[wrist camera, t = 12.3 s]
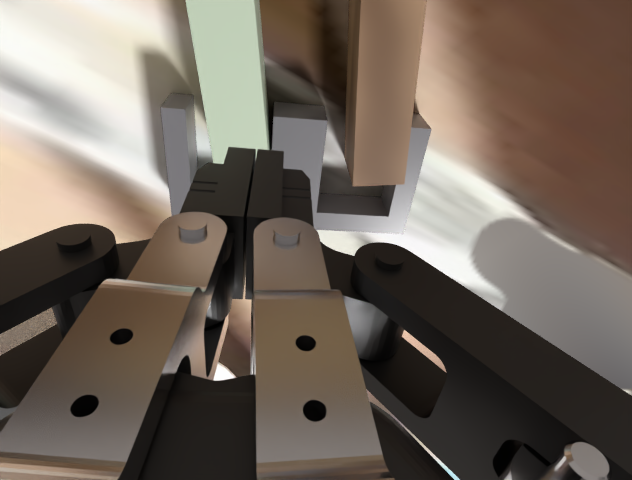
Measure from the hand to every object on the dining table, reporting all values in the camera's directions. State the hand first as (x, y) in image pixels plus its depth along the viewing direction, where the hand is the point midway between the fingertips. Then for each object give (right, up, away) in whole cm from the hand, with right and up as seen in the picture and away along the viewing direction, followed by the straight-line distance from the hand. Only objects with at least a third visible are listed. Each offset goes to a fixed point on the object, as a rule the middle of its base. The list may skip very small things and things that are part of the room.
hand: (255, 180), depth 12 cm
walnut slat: (+6, +11, +16) cm, 21 cm away
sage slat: (-4, +12, +15) cm, 20 cm away
